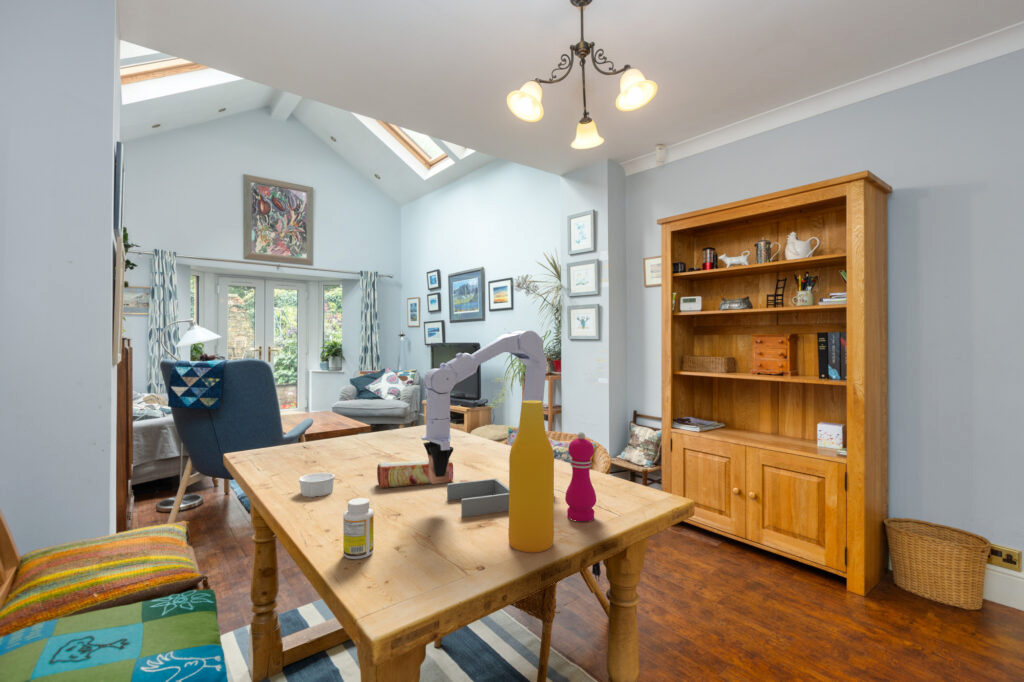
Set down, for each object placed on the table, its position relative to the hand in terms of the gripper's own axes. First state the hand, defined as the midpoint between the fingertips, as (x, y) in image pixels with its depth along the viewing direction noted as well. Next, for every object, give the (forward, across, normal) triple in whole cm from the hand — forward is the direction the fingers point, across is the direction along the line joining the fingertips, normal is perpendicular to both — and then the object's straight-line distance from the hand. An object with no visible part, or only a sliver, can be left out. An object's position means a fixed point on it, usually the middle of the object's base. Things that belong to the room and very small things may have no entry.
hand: (437, 473), depth 117 cm
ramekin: (+9, -25, -27) cm, 38 cm away
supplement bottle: (+9, +18, -20) cm, 28 cm away
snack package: (+9, -24, -1) cm, 26 cm away
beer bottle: (+9, +26, +13) cm, 30 cm away
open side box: (+9, 0, +11) cm, 14 cm away
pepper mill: (+9, +17, +30) cm, 36 cm away
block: (+2, 0, 0) cm, 2 cm away
